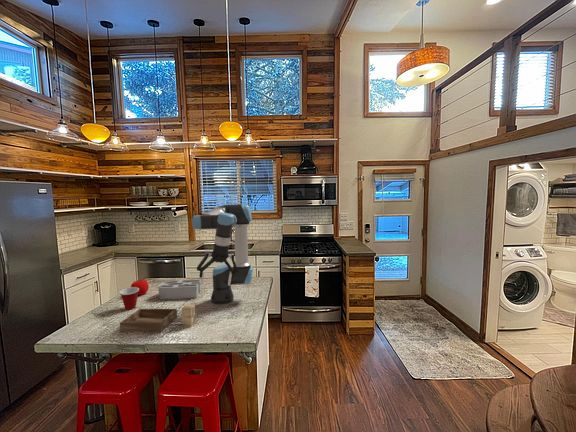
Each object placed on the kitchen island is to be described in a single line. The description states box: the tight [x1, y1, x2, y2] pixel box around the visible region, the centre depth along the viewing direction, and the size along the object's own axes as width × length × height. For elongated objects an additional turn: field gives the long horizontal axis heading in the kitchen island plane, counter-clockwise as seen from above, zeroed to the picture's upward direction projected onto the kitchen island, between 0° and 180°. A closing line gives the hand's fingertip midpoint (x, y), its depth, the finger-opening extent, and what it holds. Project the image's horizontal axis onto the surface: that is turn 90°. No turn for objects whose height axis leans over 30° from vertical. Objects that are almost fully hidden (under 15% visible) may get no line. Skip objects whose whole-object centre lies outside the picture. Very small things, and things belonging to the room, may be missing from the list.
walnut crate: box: [119, 308, 178, 333], centre depth 150 cm, size 18×22×5 cm
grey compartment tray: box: [157, 278, 203, 300], centre depth 195 cm, size 17×28×9 cm, turn 96°
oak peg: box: [181, 304, 196, 328], centre depth 149 cm, size 5×5×10 cm
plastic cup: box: [119, 286, 139, 311], centre depth 172 cm, size 11×11×12 cm
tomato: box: [130, 279, 150, 296], centre depth 197 cm, size 12×12×11 cm
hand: (215, 284), depth 138 cm, fingers open, 13 cm apart
